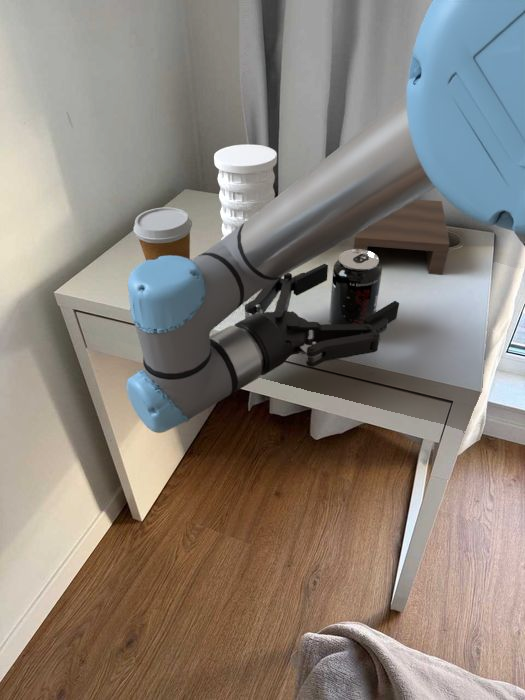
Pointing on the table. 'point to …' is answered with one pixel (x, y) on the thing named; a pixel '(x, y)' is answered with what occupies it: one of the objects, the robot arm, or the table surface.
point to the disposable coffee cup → (164, 232)
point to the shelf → (411, 232)
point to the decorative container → (244, 182)
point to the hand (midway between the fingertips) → (359, 289)
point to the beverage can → (354, 287)
